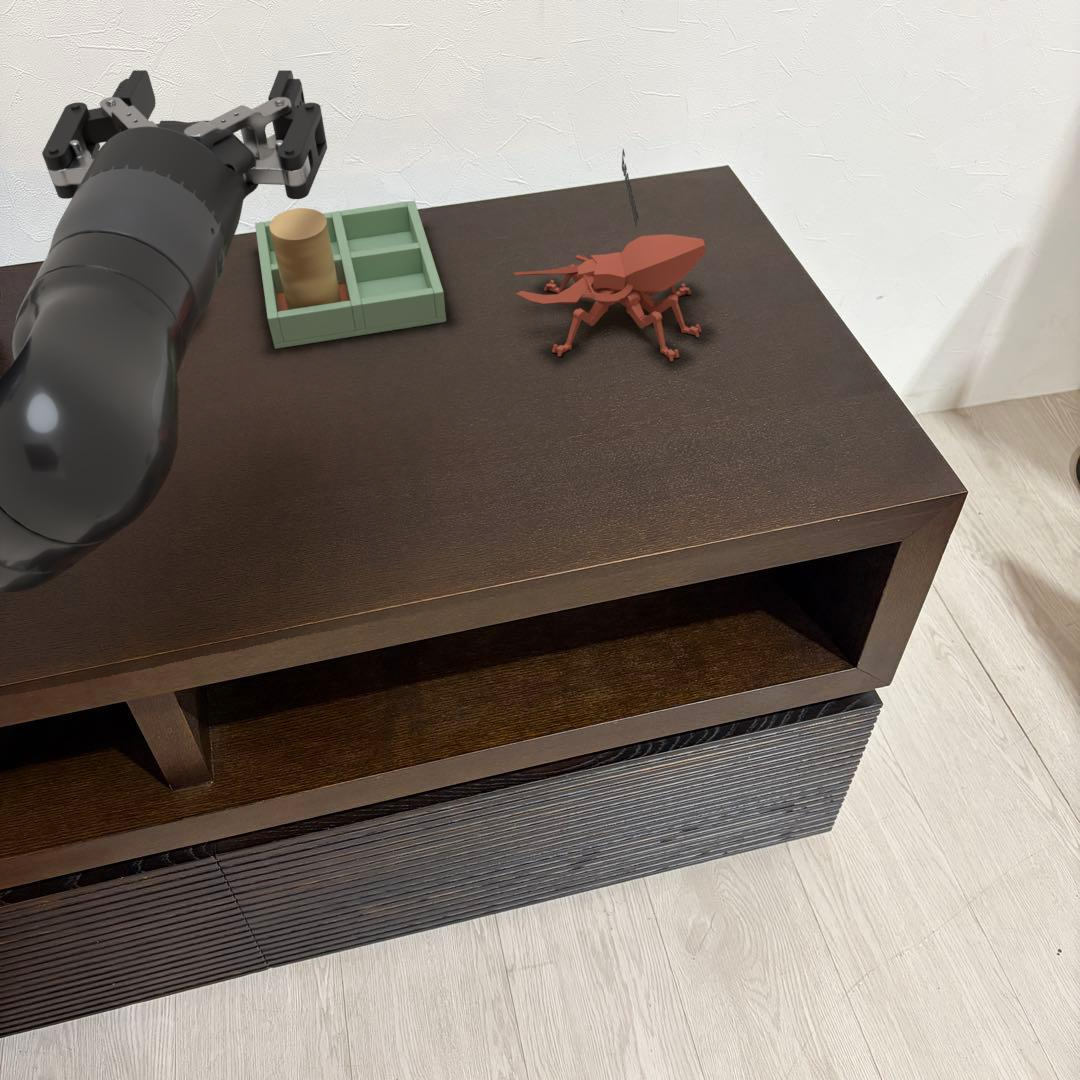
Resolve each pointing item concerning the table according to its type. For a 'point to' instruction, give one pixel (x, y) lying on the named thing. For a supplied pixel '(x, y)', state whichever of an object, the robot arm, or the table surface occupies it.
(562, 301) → the beetle
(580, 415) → the table surface
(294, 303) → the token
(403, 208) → the grid
